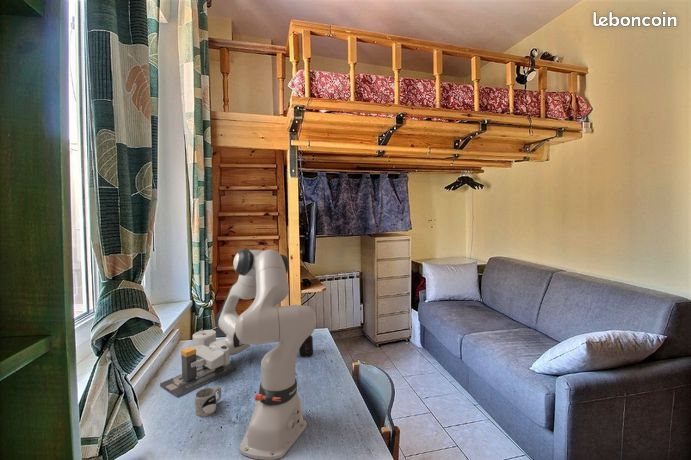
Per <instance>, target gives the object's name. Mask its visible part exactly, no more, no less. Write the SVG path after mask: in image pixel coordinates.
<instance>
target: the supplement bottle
mask: <svg viewBox="0 0 691 460" xmlns="http://www.w3.org/2000/svg"><path fill="white" fill-rule="evenodd" d="M313 340H314V339H313V336H312V334H311V335H310V336H309V337H308V338H307V339H306V340H305V341H304V342H303V344H302V345H301V347H300V349H299V351H298V353H299V356H300V357H302V358H309V357H312V356H313V355H314V341H313Z"/></svg>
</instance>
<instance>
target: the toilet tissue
mask: <svg viewBox="0 0 691 460" xmlns="http://www.w3.org/2000/svg"><path fill="white" fill-rule="evenodd" d="M215 341H217V332H216V330H213V329H204V330H200V331H195V332H194V333H193V334H192V347H195V346H198V345H205V346H208V347H209V345H210V344H211V343H212V342H215Z"/></svg>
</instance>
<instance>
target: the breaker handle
mask: <svg viewBox="0 0 691 460" xmlns="http://www.w3.org/2000/svg"><path fill="white" fill-rule="evenodd" d="M180 356H181V374H182V379H184V380H186V381H187V382H188V381H190V380H192V379H194V378H196V377H197V368H198V366H195V367H190V362H193V361H196V349H195V348H193V346H189V347H186V348H184V349H180Z"/></svg>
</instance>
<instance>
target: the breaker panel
mask: <svg viewBox="0 0 691 460" xmlns="http://www.w3.org/2000/svg"><path fill="white" fill-rule="evenodd" d="M234 371H237V366H235V365H234V364H232V363H230V362H229V363H228V364H224V365H222V366H220V367H217V368H214V369H210V368H208V367H206V366H204V365H201V366H197V377H196V378H194V379H192V380H190V381H188V382H187V381H186V380H184V379H182V373H181V374H178V375H176V376H174V377H172V378H170V379H167V380H165V381H162V382H160V383H159V386H160V388H162V389H163V390H165V391H167V392H168V393H170V394H171V395H173V397H176V398H180V397H182V396H184V395H186V394H188V393H191V392H193V391H194V390H197V389H199V388H201V387H202V386H205V385H208V384H210V383H211V382H214V381H215V380H218V379H221V378H222V377H224V376H226V375H228V374H231V373H232V372H234Z"/></svg>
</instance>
